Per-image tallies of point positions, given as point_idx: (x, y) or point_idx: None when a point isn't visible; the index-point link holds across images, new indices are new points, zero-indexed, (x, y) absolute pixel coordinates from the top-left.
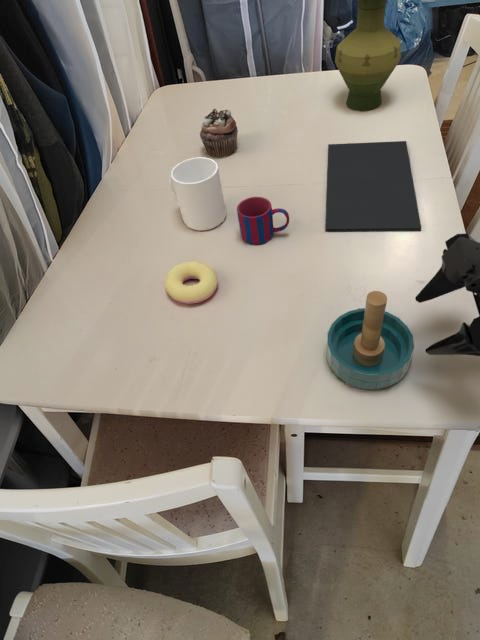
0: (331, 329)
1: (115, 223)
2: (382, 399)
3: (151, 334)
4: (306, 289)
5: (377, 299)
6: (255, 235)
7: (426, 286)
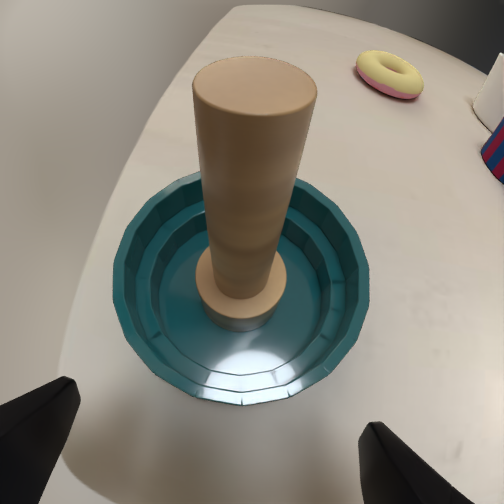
0: None
1: (447, 63)
2: None
3: (305, 48)
4: (427, 206)
5: (242, 79)
6: (493, 146)
7: (421, 467)
